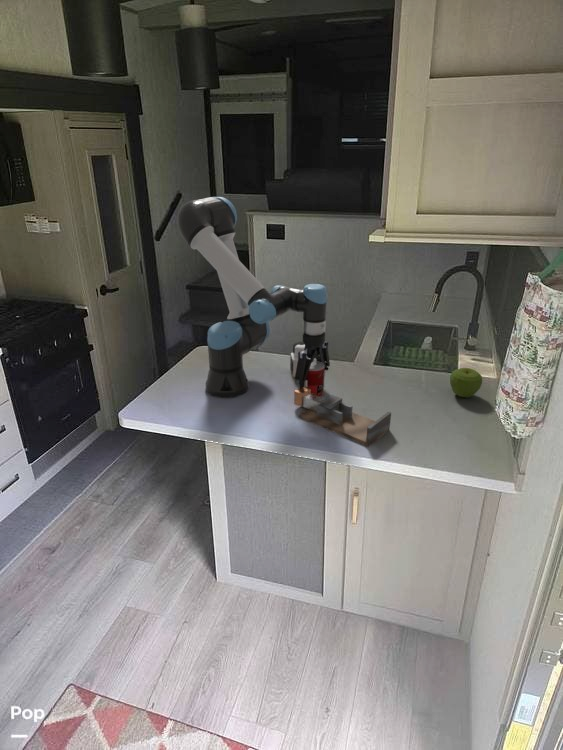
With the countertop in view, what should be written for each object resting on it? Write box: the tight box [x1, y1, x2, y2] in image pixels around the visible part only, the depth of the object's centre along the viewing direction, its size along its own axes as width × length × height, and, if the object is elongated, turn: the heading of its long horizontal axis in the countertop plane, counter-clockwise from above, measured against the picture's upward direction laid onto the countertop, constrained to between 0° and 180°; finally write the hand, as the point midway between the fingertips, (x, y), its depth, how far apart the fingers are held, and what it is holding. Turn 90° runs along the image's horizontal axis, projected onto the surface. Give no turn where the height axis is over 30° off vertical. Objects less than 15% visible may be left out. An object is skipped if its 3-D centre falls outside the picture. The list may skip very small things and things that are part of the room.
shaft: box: [293, 386, 340, 412], centre depth 167 cm, size 15×5×5 cm, turn 50°
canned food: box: [306, 359, 325, 397], centre depth 179 cm, size 8×8×11 cm
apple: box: [449, 367, 483, 398], centre depth 178 cm, size 11×10×10 cm
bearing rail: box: [298, 394, 392, 447], centre depth 161 cm, size 26×12×7 cm, turn 50°
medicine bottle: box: [289, 341, 310, 378], centre depth 193 cm, size 7×7×12 cm
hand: (312, 391), depth 181 cm, fingers open, 9 cm apart
